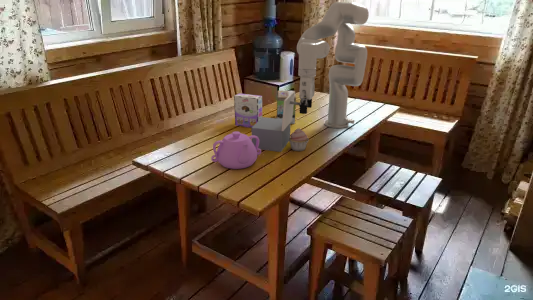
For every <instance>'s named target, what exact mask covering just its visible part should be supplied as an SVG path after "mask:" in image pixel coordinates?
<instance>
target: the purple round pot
mask: <svg viewBox="0 0 533 300" xmlns="http://www.w3.org/2000/svg"><path fill="white" fill-rule="evenodd" d="M252 138H256V140H257V141H256V146H254V144H253V142H252ZM217 145H218V147H217ZM258 146H259V138H258V137H257V136H255V135H252V134H251V135H247V134H245V133H241V132H240V131H238V130H237V131H232V132H231V133H229V134H227V135H225V136H224V137H223V138H222V139H221V140H217V141H214V142H213V144H212V150H213V155H212V156H211V157H210V159H211V162H213V163H217V162H218V163H219V164H220V165H221V166H222V167H224V168H226V169H231V170H237V169H238V170H240V169H241V170H242V169H246V168H249V167H250V166H252V165H253V164H254V163H255V162H256V160H257V158H258V156H260V155H261V154H262V149H260V148H258ZM216 147H217V148H216Z"/></svg>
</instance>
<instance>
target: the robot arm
mask: <svg viewBox="0 0 533 300" xmlns="http://www.w3.org/2000/svg"><path fill="white" fill-rule="evenodd" d="M368 20H369V9H368V7H367V6H364V5H362V4H360V3H357V2H348V1H347V2H344V1H336V2H333V3H331V5H330V6H329V8H328V10H327V11H326V13H325V15H324V16H323V17H322V19H321V21H320V22H318V23H315V24H314V25H312V26H310V27H309V28H307V29H306V30H304V32H303V33H302V35H301V36H300V38H299V39H298V42H297V45H296V52H297V54H298V70H297V71H298V73H297V74H298V77H299V78H300V80H299V90H298V91H299V99H300V101H299V103H300V107H299V114H302V115H307V113H308V108H309V109H310V108H312V105H313V104H312V103H313V97H314V96H315V77H316V76H317V62H318V60H317V59H325V58H326V57H327V56H328V55H329V54H330V50H331V48H330V47H331V46H330V43H328V41H326V40H323V39H325V38H329V37H332V36H334V35H335V34H337V41H336V47H335V50H334V51H335V52H334V58H335V60H336V61H337V62H339V63H345V65H344V64H335V65H332V66H330V68H329V70H328V81H329V94H328V96H329V97H328V111H327V119H326V120H325V121H324V125H325V126H326V127H328V128H333V129H344V128H347V127H348V126H349V125H350V124H353V125H354V124H355V120H354V119H353V118H349V117H348V115H347V110H348V99H349V90H348V88H347V86H352V87H359V86H361V85H362V83H363V81H364V77H365V71H366V66H367V60H368V49H367V46H366V45H364V44H360V43H359V44H358V43H355V41H356V32H355V29H354V27H353V25H359V26H361V25H365V24H366V23H367V22H368ZM320 39H322V40H320ZM346 64H353V65H354V66H352V65H346ZM305 100H306V101H305ZM307 102H308V107H307Z"/></svg>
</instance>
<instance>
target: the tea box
mask: <svg viewBox="0 0 533 300" xmlns="http://www.w3.org/2000/svg"><path fill="white" fill-rule="evenodd" d="M292 92H295V93H296V90H277V95H276V119H283V108H284V100H285V99H286V98H287V97H288V96H289V95H290V94H291V93H292ZM294 102H297V95H296V94H295V95H294ZM296 107H297V105H294V106H293V116H292V121H291V123H290V125H291V124H292V125H293V124H295V123H296V109H297V108H296Z"/></svg>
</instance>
